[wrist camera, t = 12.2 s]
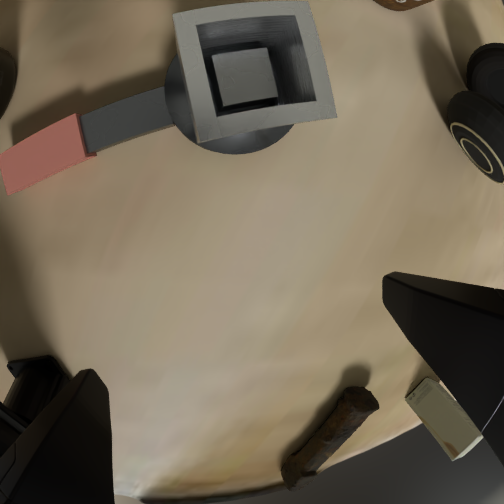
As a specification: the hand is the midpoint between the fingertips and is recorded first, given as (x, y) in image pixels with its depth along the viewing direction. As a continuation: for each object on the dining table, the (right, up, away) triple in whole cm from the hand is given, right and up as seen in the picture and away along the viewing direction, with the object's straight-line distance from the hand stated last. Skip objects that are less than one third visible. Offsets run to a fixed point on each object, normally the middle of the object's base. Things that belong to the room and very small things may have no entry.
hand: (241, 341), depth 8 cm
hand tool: (+8, -20, +22) cm, 31 cm away
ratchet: (-6, +10, +7) cm, 14 cm away
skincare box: (+24, -17, +24) cm, 38 cm away
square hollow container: (0, +11, +5) cm, 12 cm away
